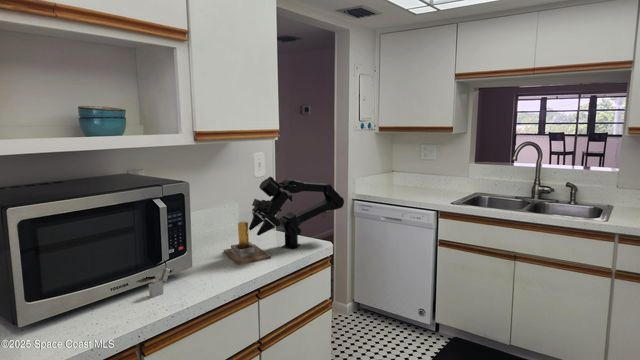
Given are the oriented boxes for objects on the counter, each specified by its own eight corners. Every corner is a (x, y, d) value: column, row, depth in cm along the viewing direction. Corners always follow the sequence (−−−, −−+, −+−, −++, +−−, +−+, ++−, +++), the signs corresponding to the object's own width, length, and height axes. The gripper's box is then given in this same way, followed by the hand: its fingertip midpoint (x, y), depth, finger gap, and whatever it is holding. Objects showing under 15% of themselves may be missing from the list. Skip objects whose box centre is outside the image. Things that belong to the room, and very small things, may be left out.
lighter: (152, 298, 129) (150, 274, 128) (149, 296, 130) (147, 273, 129) (171, 290, 135) (170, 267, 133) (168, 289, 136) (166, 266, 134)
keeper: (254, 246, 179) (254, 237, 178) (270, 258, 163) (270, 249, 163) (223, 252, 172) (223, 243, 171) (237, 265, 156) (237, 255, 156)
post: (242, 251, 170) (241, 221, 168) (251, 252, 168) (249, 222, 166) (237, 254, 166) (236, 223, 164) (246, 255, 164) (244, 224, 162)
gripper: (255, 188, 176) (232, 216, 172) (272, 195, 160) (247, 226, 156) (272, 203, 181) (250, 231, 177) (290, 211, 165) (267, 242, 161)
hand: (253, 232), depth 168 cm, fingers open, 9 cm apart
